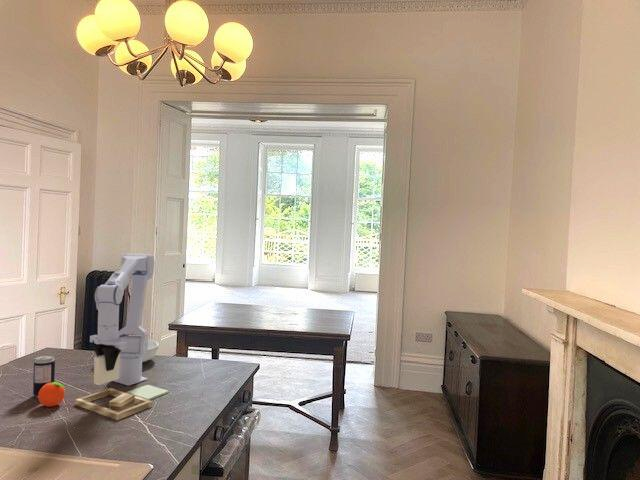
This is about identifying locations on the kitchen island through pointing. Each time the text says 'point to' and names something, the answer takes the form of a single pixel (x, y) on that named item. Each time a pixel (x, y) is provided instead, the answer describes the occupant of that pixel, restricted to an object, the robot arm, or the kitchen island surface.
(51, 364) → the beverage can
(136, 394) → the sage mat
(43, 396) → the clementine
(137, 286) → the robot arm
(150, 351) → the serving bowl
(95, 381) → the cream rectangular block
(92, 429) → the kitchen island surface
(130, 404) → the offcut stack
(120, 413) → the wooden rectangular frame
